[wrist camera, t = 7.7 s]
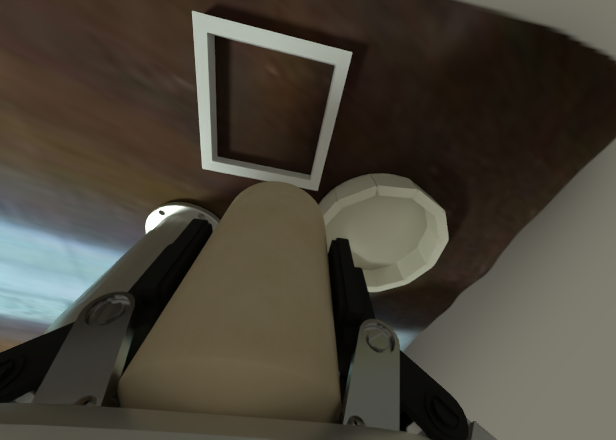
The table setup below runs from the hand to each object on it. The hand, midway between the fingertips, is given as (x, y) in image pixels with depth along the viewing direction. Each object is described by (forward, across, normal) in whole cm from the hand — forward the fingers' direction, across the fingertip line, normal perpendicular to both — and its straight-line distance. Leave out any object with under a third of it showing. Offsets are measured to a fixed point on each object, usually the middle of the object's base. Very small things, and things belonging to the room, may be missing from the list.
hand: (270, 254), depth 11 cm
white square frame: (+19, +3, -3) cm, 20 cm away
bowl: (+19, -13, +10) cm, 25 cm away
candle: (+3, 0, 0) cm, 3 cm away
